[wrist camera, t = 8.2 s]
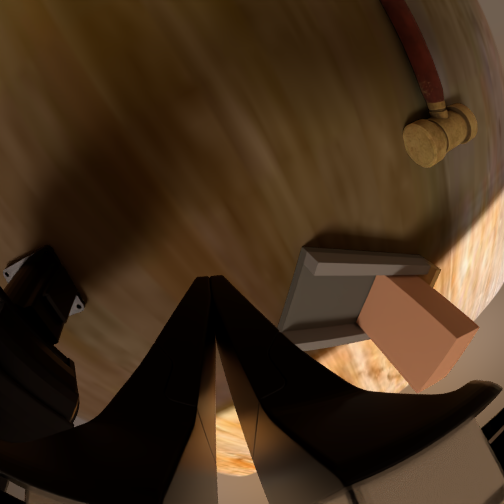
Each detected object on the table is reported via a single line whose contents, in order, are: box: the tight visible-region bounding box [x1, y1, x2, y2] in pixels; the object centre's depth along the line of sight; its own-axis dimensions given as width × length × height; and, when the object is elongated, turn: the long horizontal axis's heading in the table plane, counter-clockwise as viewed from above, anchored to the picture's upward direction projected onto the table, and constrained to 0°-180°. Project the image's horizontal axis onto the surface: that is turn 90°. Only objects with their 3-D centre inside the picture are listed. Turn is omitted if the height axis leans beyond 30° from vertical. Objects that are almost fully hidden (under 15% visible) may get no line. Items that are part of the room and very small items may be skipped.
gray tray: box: [277, 247, 441, 351], centre depth 28 cm, size 18×10×4 cm, turn 78°
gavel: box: [380, 0, 478, 168], centre depth 17 cm, size 21×5×10 cm
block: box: [356, 275, 479, 393], centre depth 24 cm, size 6×7×12 cm
